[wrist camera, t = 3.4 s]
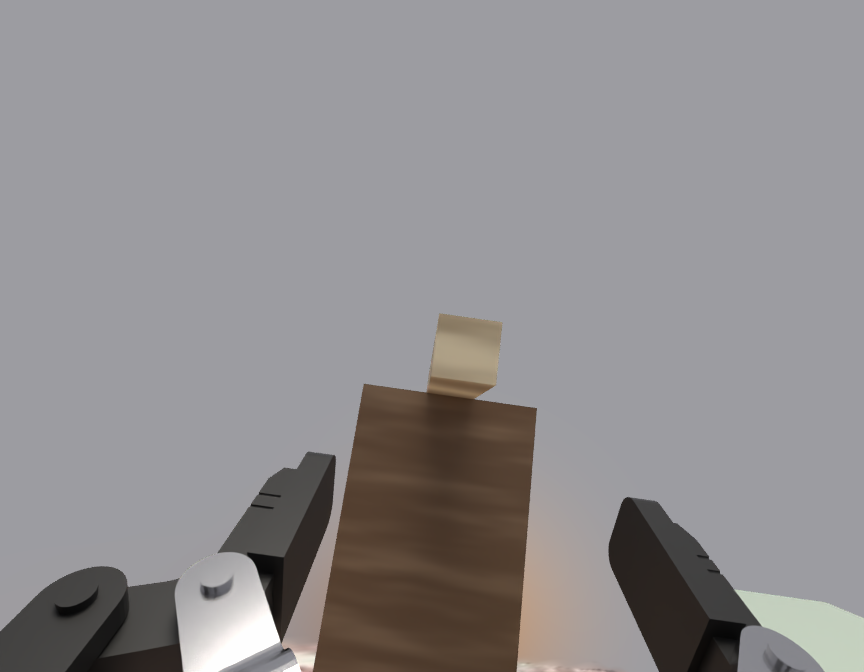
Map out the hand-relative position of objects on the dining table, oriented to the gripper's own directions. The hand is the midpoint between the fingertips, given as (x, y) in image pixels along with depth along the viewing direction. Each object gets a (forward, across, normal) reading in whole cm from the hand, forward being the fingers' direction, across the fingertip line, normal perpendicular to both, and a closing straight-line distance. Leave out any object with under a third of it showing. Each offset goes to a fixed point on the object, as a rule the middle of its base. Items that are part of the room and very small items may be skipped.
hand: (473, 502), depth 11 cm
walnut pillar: (+6, 0, +36) cm, 36 cm away
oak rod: (+18, 0, +6) cm, 19 cm away
